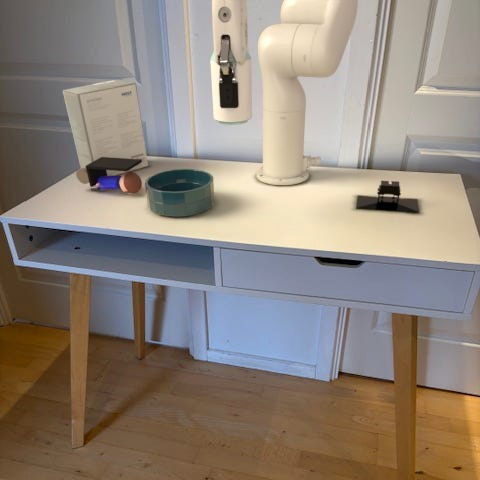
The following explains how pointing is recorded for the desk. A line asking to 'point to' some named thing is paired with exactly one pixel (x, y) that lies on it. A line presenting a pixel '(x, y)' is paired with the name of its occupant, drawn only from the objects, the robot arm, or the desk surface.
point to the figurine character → (98, 176)
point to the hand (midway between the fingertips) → (232, 101)
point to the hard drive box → (106, 122)
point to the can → (244, 93)
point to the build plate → (388, 200)
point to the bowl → (180, 192)
